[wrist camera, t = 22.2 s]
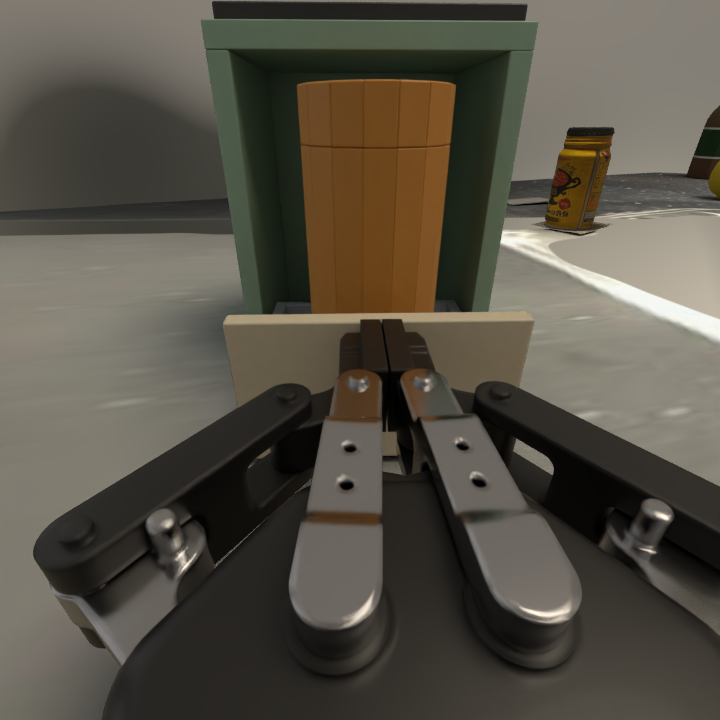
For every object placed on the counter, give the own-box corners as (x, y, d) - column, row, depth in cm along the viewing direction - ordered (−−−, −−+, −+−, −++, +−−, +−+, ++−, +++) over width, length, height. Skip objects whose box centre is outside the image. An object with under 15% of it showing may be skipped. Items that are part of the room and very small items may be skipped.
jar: (312, 404, 20) (288, 78, 13) (319, 344, 25) (305, 89, 18) (435, 402, 20) (473, 79, 13) (417, 343, 25) (438, 90, 19)
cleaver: (496, 204, 75) (510, 208, 71) (497, 196, 74) (511, 201, 70) (562, 198, 77) (579, 202, 72) (563, 191, 76) (581, 194, 72)
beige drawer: (247, 459, 18) (221, 323, 14) (281, 341, 27) (270, 242, 24) (503, 453, 18) (536, 319, 15) (449, 338, 27) (462, 240, 24)
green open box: (253, 364, 25) (197, -1, 16) (278, 296, 35) (251, 42, 26) (480, 361, 25) (542, 2, 17) (443, 295, 35) (471, 43, 26)
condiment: (530, 225, 57) (550, 126, 51) (563, 217, 62) (585, 126, 56) (580, 235, 52) (609, 128, 46) (612, 226, 57) (643, 127, 51)
